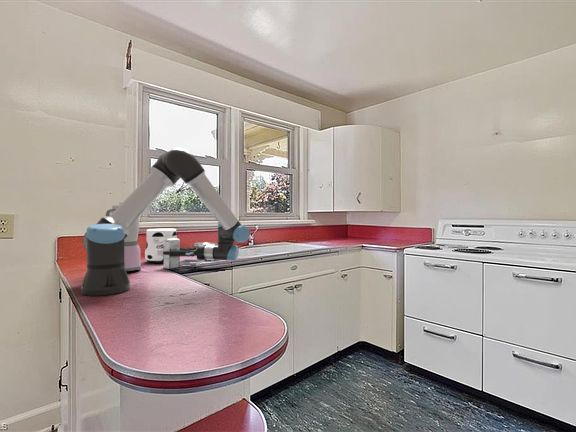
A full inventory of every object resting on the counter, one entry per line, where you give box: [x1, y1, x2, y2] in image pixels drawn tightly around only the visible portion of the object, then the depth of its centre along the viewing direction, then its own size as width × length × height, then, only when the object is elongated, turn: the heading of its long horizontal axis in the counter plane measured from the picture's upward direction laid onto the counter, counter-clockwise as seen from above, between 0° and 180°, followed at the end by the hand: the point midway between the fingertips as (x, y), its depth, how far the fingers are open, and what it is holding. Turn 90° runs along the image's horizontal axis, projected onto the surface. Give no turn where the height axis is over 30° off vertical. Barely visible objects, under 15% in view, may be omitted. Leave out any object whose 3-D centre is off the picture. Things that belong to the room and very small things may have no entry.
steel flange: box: [180, 259, 205, 267], centre depth 168 cm, size 12×12×2 cm
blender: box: [105, 202, 142, 272], centre depth 147 cm, size 16×12×32 cm
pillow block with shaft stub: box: [193, 242, 218, 260], centre depth 182 cm, size 6×12×10 cm, turn 84°
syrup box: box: [162, 237, 181, 270], centre depth 158 cm, size 6×6×14 cm
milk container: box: [144, 228, 178, 264], centre depth 176 cm, size 17×17×18 cm
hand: (162, 251), depth 158 cm, fingers closed on syrup box, 7 cm apart
